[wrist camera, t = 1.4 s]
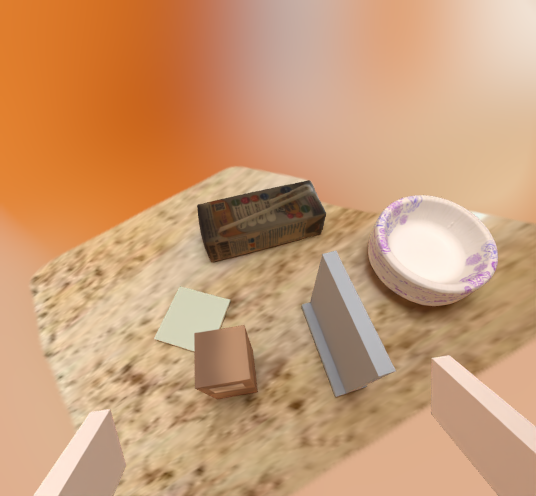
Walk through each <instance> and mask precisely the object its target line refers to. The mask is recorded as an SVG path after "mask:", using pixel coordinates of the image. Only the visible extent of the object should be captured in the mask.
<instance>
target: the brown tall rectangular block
mask: <svg viewBox="0 0 536 496" xmlns="http://www.w3.org/2000/svg"><path fill="white" fill-rule="evenodd" d="M194 350H195V389H197V390H200V391H202V392H204V393H206V394H208V395H210V396H212V397H214V398H216V399H220V398H226V397H232V396H238V395H244V394H249V393H255V392H258V391H257V383H256V374H255V366H254V358H253V350H252V347H251V344H250V341H249V338H248V335H247V332H246V329H245V326H244V325H242V326H236V327H230V328H223V329H217V330H211V331H204V332H198V333H194Z"/></svg>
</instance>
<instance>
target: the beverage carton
mask: <svg viewBox="0 0 536 496" xmlns="http://www.w3.org/2000/svg"><path fill="white" fill-rule="evenodd" d="M197 207H198V218H199V225H200V230H201V235H202V239H203V243H204V246H205V249H206V252H207V254H208V256H209V258H210V260H211V262H214V261H218V260H223V259H227V258H231V257H235V256H239V255H243V254H247V253H250V252H254V251H258V250H262V249H266V248H269V247H273V246H277V245H281V244H285V243H289V242H293V241H296V240H300V239H304V238H307V237H311V236H314V235H318V234H321V232H322V230H323V226H324V220H325V217H326V212H325V210H324V208H323V206H322V204H321V202H320V200H319V198H318V196H317V193H316V192H315V189H314V187H313V185H312V183H311V181H304V182H299V183H295V184H290V185H284V186H280V187H275V188H271V189H266V190H261V191H256V192H252V193H247V194H243V195H238V196H234V197H230V198H225V199H221V200H216V201H212V202H207V203H204V204H199V205H198V206H197Z"/></svg>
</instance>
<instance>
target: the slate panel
mask: <svg viewBox="0 0 536 496" xmlns="http://www.w3.org/2000/svg"><path fill="white" fill-rule="evenodd" d="M302 310H303V312H304V315H305V318H306V320H307V323H308V326H309V328H310V331H311V334H312V336H313V339H314V342H315V345H316V347H317V350H318V353H319V355H320V358H321V361H322V363H323V366H324V369H325V371H326V374H327V377H328V379H329V382H330V385H331V387H332V390H333V393H334V396H335V397H338V396H341V395H344V394H347V393H349V392H352V391H355V390H358V389H361V388H364V387H367V385H368V384H370V383H372V382H374V381H376V380H378V379H380V378H382V377H384V376H386V375H388V374H390V373H392V372H394V371H396V370H395V368H394V366H393V364H392V362H391V360H390V358H389V356H388V354H387V352H386V350H385V348H384V346H383V344H382V342H381V340H380V338H379V336H378V334H377V332H376V330H375V328H374V326H373V324H372V322H371V320H370V318H369V316H368V314H367V312H366V310H365V308H364V306H363V304H362V302H361V300H360V298H359V296H358V294H357V292H356V290H355V288H354V286H353V284H352V282H351V280H350V278H349V276H348V274H347V272H346V270H345V268H344V266H343V264H342V262H341V260H340V258H339V256H338V254H337V252H336V251H333V252H329V253H325V254H322V258H321V262H320V266H319V270H318V274H317V278H316V282H315V285H314V289H313V293H312V297H311V301H310V303H306V304H303V305H302Z"/></svg>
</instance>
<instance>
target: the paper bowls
mask: <svg viewBox="0 0 536 496" xmlns="http://www.w3.org/2000/svg"><path fill="white" fill-rule="evenodd" d="M368 256H369V261H370V264H371V266H372V267H373V270H374V271H375V273H376V275H377V276H378V277H379V279H380V280H381V281H382V282H383V283H384V284H385V285H386V286H387V287H388V288H389V289H391V290H392V291H393V292H395V293H396V294H398V295H400V296H401V297H403V298H405V299H407V300H409V301H412V302H415V303H418V304H421V305H429V306H441V305H447V304H452V303H454V302H457V301H458V300H461V299H463V298H465V297H466V296H468V295H469V294H471V293H473V292H474V291H476V290H477V289H479V288H480V287H482V286H483V285H484V284H485V283H486V282H488V281H489V280H490V279H491V278H492V276H493V274H494V273H495V270H496V267H497V262H498V252H497V247H496V244H495V241H494V239H493V237H492V235H491V233H490V232H489V230H488V229H487V227H486V226H485V225H484V224H483V223H482V222H481V221H480V220H479V219H478V218H477V217H476V216H475V215H474V214H472V213H471V212H470V211H468V210H467V209H465V208H464V207H462V206H460V205H458V204H456V203H453V202H451V201H448V200H446V199H443V198H439V197H434V196H425V195H417V196H410V197H405V198H402V199H399V200H397V201H395V202H393V203H392V204H390V205H389V206H387V208H385V209H384V211H383V212H382V213H381V214H380V216H379V218H378V220H377V222H376V224H375V226H374V228H373V230H372V232H371V234H370V237H369V242H368Z"/></svg>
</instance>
